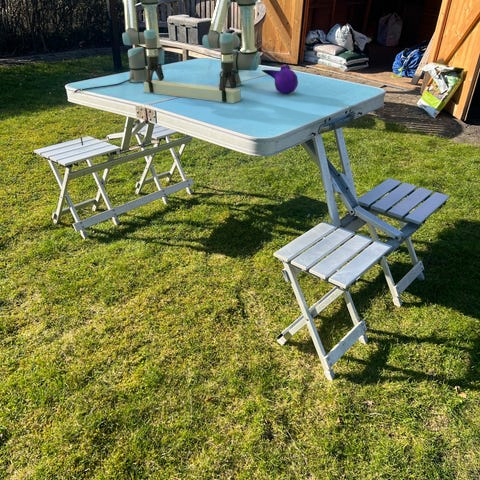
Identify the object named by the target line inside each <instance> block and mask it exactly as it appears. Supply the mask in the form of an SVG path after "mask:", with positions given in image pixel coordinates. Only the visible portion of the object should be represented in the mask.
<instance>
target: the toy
mask: <svg viewBox="0 0 480 480" xmlns="http://www.w3.org/2000/svg"><path fill="white" fill-rule="evenodd" d="M261 72H263V74H266V75H267V76H270V77H271V78H273V79H274V86H275V87H274V88H275V89H276V91H277V92H279V94H284V95H291V94H292V93H294V92H295V91H296V89H297V88H298V85H299V79H298V75H297V74H296V73H295V71H294V70H292V69H291V67H290V65H288V64H285V65H283V66H281V67H280V70H276V69H275V70H274V69H261Z"/></svg>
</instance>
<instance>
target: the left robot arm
mask: <svg viewBox="0 0 480 480" xmlns="http://www.w3.org/2000/svg"><path fill="white" fill-rule="evenodd" d="M121 2H122V4H123V10H124V28H125V32H122V42H123V45H125V46H138V45H139V46H138V47H132V48H130V49H128V50H127V56H128V64H129V65H128V66H129V76H128V79H127V80H123V81H121V82H118V83H112V84H106V85H100V86H92V87H84V88H76V89H75V90H74V94H76V93H77V92H80V91H81V92H82V91H88V90H93V89H101V88H108V87H114V86H120V85H123V84H125V83H127V82H129V83H133V84H141V83H143V84H144V82H148V85H149V90H150V93H149V94H155V93H154V92H153V83H152V80H153V76H154V72H155V74H156V76H157V78H158V79H157V80H159V81H164V79H165V75H164V71H163V67H162V66H163V65H165V48H164V47H163V45H162V44H161V41H160V33H159V23H158V21H159V20H158V13H157V12H158V11H157V7H158V6H159V2H160V0H121ZM138 3H140V4H141V6H142V7H143V13H144V22H145V30H144V31H139V32H138V24H137V7H136V5H137V4H138ZM141 45H144V46H145V48H144V47H143V46H141ZM81 89H82V90H81ZM80 142H81V143H80V144H81V146H84V142H83V137H82V136H80Z"/></svg>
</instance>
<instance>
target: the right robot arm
mask: <svg viewBox="0 0 480 480" xmlns="http://www.w3.org/2000/svg"><path fill="white" fill-rule="evenodd" d="M215 1H216V6H215V9H214V12H213V15H212V20H211V24H210V27H209V30H208V33H207V34H204V35H203V36H202V42H201V43H202V46H203V48H205V49H220V62H221V63H220V68H221V71H220V72H219V86H218V87H219V90H220V91H222V102H221V103H226V91H225V89H226V88H232V89H237V88H238V87H241V86H242V79H241V77H240V73H239V71H249V72H254V71H257V70H258V68H259V66H260V61H261V54H260V52H258V48H257V47H256V46H255V44H256V43H255V16H254V15H255V13H254V8H255V7H256V5H257V4H256V3H258V2H259V0H215ZM232 3H237V7H238V8H239V10H240V11H239V12H240V13H239V14H240V31H241V35H240V36H241V40H240V37H239V36H238V35H237V34H232V33H231V32H225V33H222V31H223V28H224V25H225V21H226V18H227V13H228V11H229V7H231V5H232ZM240 42H241V48H240V49H237V48H238V47H239V45H240Z"/></svg>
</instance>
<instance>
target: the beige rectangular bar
mask: <svg viewBox="0 0 480 480" xmlns="http://www.w3.org/2000/svg"><path fill="white" fill-rule="evenodd" d="M152 83H153V92H154V93H153V94H154V95H155V94H156V95H157V94H158V95H164V96H173V97H180V98H188V99H195V100H204V101H211V102H218V103H223V102H222V91H220V90H219V86H212V85H203V84H194V83H186V82H176V81H167V80H162V81H159V79H152ZM143 88H144V93H148V94H151V93H150V90H149V85H148V82H143ZM225 91H226V102H225V103H226V104H236V103H238V102H241V100H242V89H239V88H234V89H232V88H231V87H226V89H225Z"/></svg>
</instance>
